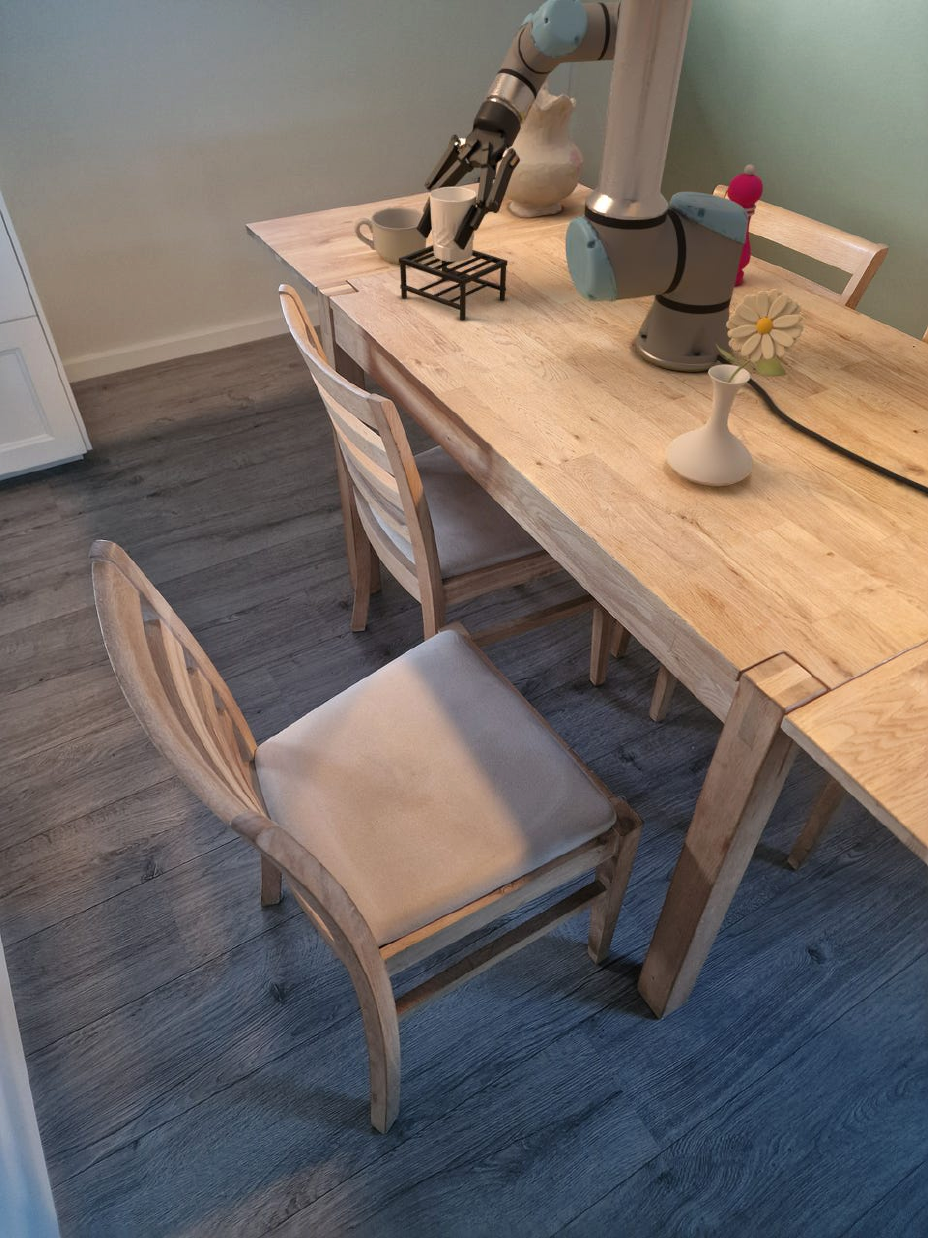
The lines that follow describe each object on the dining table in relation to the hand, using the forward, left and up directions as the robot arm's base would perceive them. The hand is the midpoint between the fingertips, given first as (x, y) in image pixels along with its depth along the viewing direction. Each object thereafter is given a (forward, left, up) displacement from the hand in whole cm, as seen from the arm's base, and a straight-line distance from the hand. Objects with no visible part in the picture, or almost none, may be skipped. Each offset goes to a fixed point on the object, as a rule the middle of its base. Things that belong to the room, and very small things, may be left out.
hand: (440, 239), depth 142 cm
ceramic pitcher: (+20, -54, -11) cm, 59 cm away
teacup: (+22, -10, -11) cm, 27 cm away
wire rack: (0, -3, -11) cm, 12 cm away
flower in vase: (-63, +17, -11) cm, 66 cm away
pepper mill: (-33, -44, -11) cm, 57 cm away
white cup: (0, -3, -4) cm, 5 cm away
